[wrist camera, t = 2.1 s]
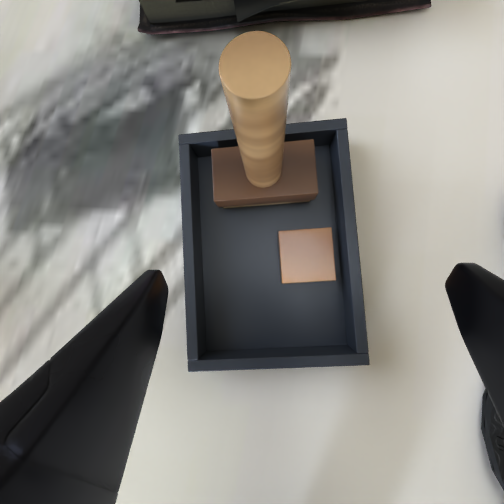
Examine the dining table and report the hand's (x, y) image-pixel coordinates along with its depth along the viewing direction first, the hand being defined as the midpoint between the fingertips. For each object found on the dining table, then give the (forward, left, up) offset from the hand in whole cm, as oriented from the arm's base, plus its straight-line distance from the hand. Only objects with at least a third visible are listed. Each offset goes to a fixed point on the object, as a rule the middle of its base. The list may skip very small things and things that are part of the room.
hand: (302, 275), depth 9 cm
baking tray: (+1, +2, -14) cm, 14 cm away
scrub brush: (+5, +6, -13) cm, 15 cm away
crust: (+2, 0, -13) cm, 14 cm away
